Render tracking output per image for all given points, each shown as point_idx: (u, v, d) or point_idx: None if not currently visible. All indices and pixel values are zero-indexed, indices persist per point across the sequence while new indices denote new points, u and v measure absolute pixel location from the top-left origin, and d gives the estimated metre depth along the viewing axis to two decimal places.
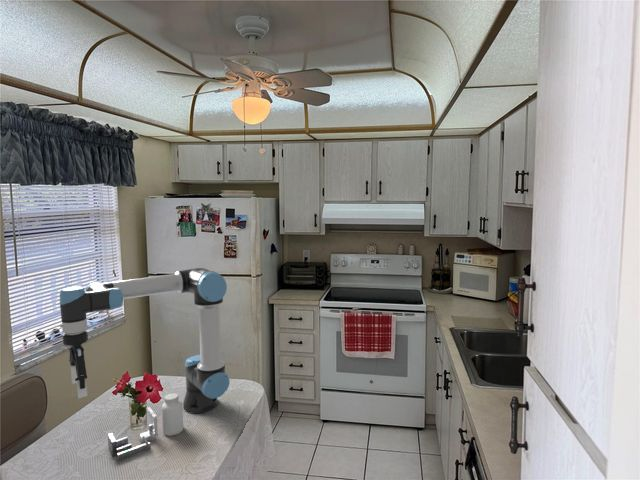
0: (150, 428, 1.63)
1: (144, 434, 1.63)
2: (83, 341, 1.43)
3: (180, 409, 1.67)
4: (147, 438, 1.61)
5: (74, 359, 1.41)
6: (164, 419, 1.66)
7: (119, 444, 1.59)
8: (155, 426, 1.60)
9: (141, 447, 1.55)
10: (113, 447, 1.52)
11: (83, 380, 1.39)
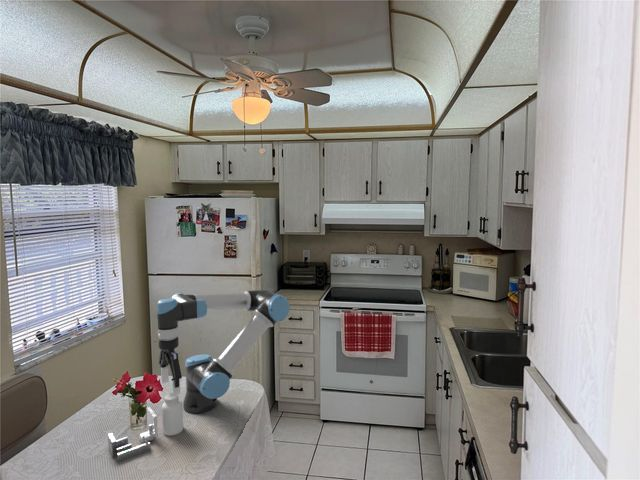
0: (150, 428, 1.63)
1: (144, 434, 1.63)
2: (176, 346, 1.64)
3: (180, 409, 1.67)
4: (147, 438, 1.61)
5: (169, 361, 1.62)
6: (164, 419, 1.66)
7: (119, 444, 1.59)
8: (155, 426, 1.60)
9: (141, 447, 1.55)
10: (113, 447, 1.52)
11: (177, 380, 1.60)
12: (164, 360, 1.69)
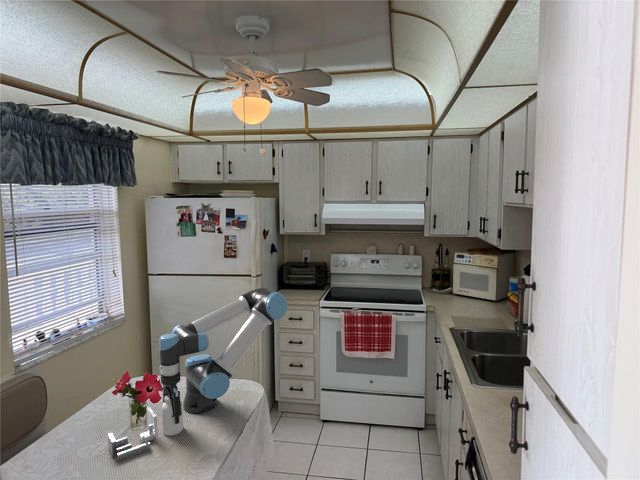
0: (150, 428, 1.63)
1: (144, 434, 1.63)
2: (178, 381, 1.66)
3: None
4: (147, 438, 1.61)
5: (170, 398, 1.65)
6: (164, 419, 1.66)
7: (119, 444, 1.59)
8: (155, 426, 1.60)
9: (141, 447, 1.55)
10: (113, 447, 1.52)
11: (177, 416, 1.64)
12: None
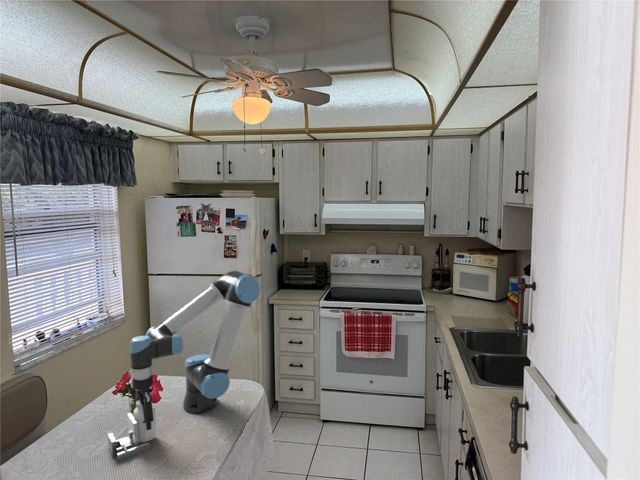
0: (130, 435, 1.59)
1: (124, 441, 1.58)
2: (150, 385, 1.59)
3: None
4: None
5: (142, 403, 1.58)
6: None
7: None
8: (135, 433, 1.56)
9: (141, 447, 1.55)
10: (113, 447, 1.52)
11: (149, 422, 1.57)
12: None
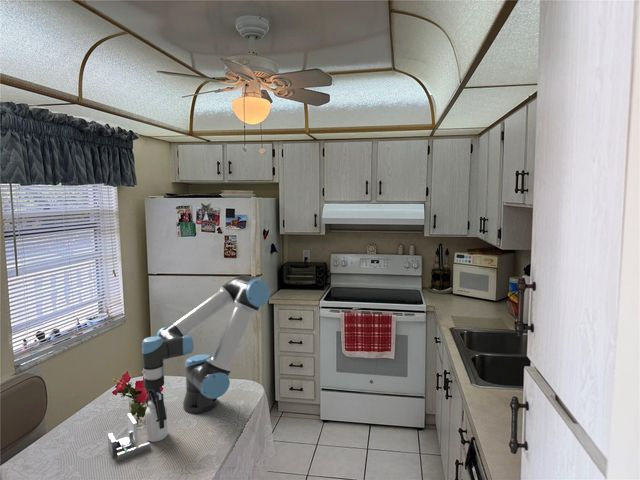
0: (130, 435, 1.59)
1: (124, 441, 1.58)
2: (161, 385, 1.62)
3: None
4: None
5: (154, 402, 1.60)
6: (147, 425, 1.62)
7: None
8: (135, 433, 1.56)
9: (141, 447, 1.55)
10: (113, 447, 1.52)
11: (162, 421, 1.59)
12: (150, 399, 1.67)
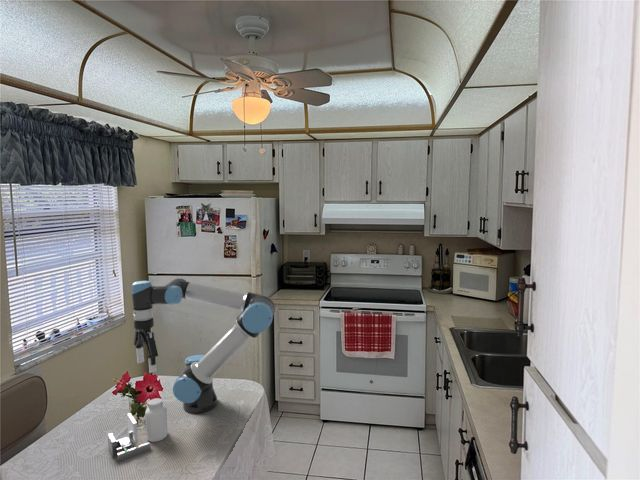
0: (130, 435, 1.59)
1: (124, 441, 1.58)
2: (151, 326, 1.71)
3: (164, 414, 1.63)
4: None
5: (145, 341, 1.69)
6: (147, 425, 1.61)
7: None
8: (135, 433, 1.56)
9: (141, 447, 1.55)
10: (113, 447, 1.52)
11: (154, 357, 1.67)
12: (139, 340, 1.75)
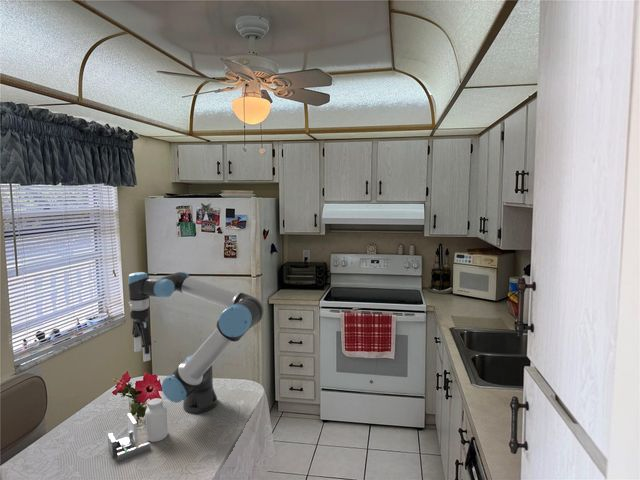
0: (130, 435, 1.59)
1: (124, 441, 1.58)
2: (146, 316, 1.77)
3: (164, 414, 1.63)
4: None
5: (140, 330, 1.75)
6: (147, 425, 1.61)
7: None
8: (135, 433, 1.56)
9: (141, 447, 1.55)
10: (113, 447, 1.52)
11: (147, 347, 1.73)
12: (136, 330, 1.82)
